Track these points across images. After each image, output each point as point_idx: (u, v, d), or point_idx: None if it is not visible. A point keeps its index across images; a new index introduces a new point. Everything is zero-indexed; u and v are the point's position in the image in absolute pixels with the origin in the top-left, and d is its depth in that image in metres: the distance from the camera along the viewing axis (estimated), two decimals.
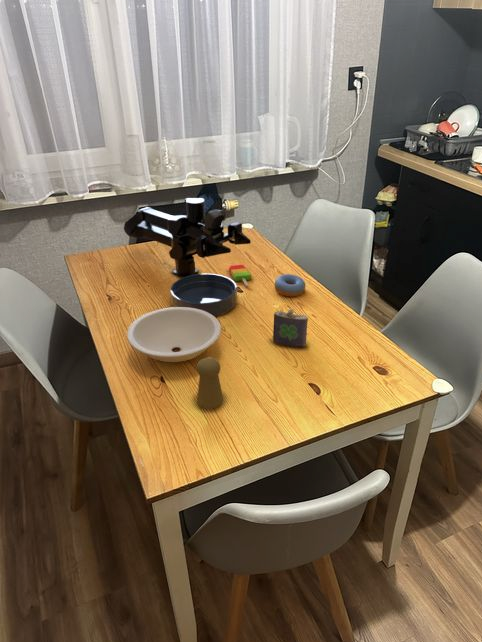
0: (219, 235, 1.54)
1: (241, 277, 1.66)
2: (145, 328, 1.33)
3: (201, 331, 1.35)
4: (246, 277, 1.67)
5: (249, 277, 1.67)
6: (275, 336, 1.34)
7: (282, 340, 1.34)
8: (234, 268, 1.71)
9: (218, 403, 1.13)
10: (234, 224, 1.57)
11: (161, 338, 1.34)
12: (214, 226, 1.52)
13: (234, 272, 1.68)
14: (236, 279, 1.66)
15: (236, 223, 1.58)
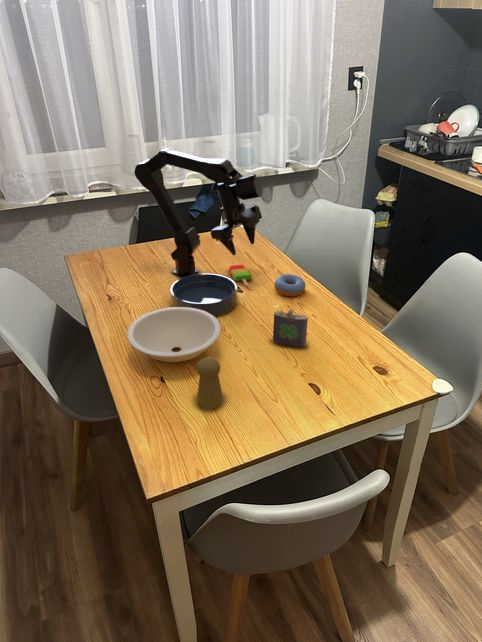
0: None
1: (241, 277, 1.66)
2: (145, 328, 1.33)
3: (201, 331, 1.35)
4: (246, 277, 1.67)
5: (249, 277, 1.67)
6: (275, 336, 1.34)
7: (282, 340, 1.34)
8: (234, 268, 1.71)
9: (218, 403, 1.13)
10: None
11: (161, 338, 1.34)
12: None
13: (234, 272, 1.68)
14: (236, 279, 1.66)
15: (259, 216, 1.60)
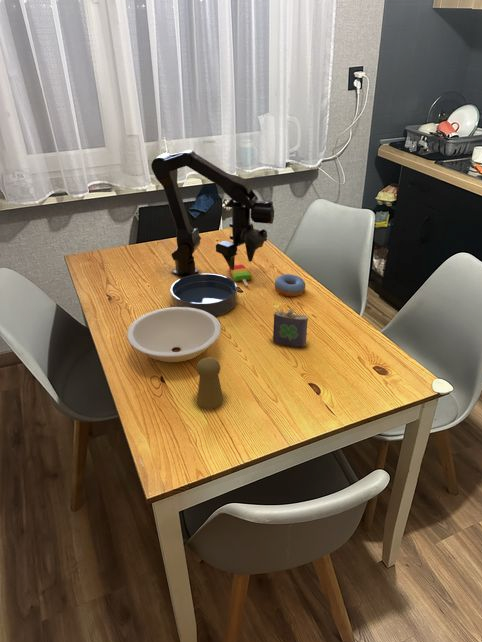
0: None
1: (241, 277, 1.66)
2: (145, 328, 1.33)
3: (201, 331, 1.35)
4: (246, 277, 1.67)
5: (249, 277, 1.67)
6: (275, 336, 1.34)
7: (282, 340, 1.34)
8: (234, 268, 1.71)
9: (218, 403, 1.13)
10: None
11: (161, 338, 1.34)
12: None
13: (234, 272, 1.68)
14: (236, 279, 1.66)
15: None
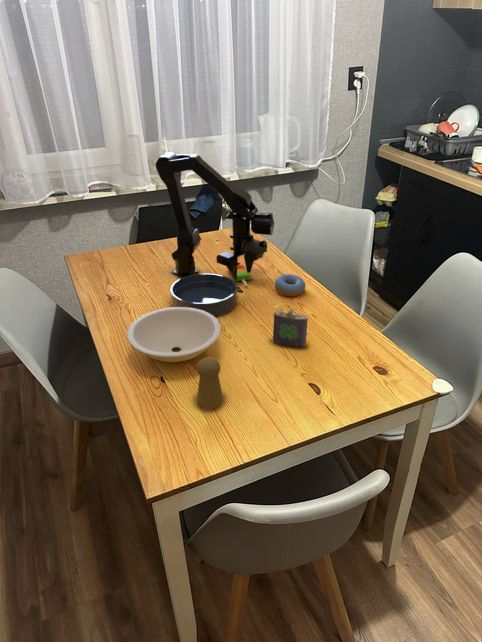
0: None
1: (240, 277, 1.66)
2: (145, 328, 1.33)
3: (201, 331, 1.35)
4: (245, 277, 1.67)
5: (248, 277, 1.67)
6: (275, 336, 1.34)
7: (282, 340, 1.34)
8: None
9: (218, 403, 1.13)
10: None
11: (161, 338, 1.34)
12: None
13: None
14: None
15: None
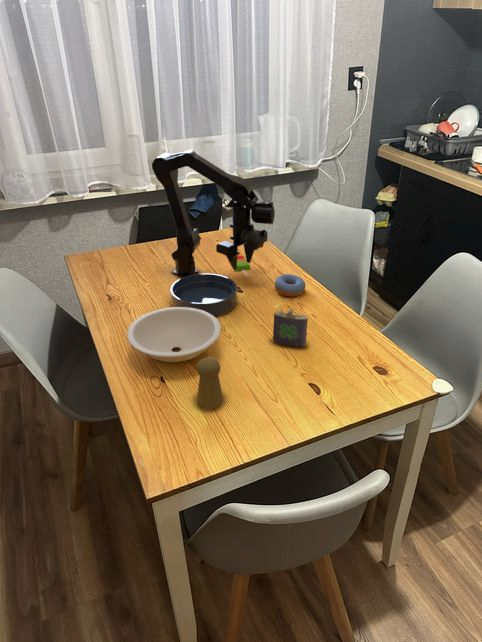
0: None
1: (240, 267, 1.64)
2: (145, 328, 1.33)
3: (201, 331, 1.35)
4: (245, 267, 1.65)
5: (248, 267, 1.65)
6: (275, 336, 1.34)
7: (282, 340, 1.34)
8: None
9: (218, 403, 1.13)
10: None
11: (161, 338, 1.34)
12: None
13: None
14: None
15: None
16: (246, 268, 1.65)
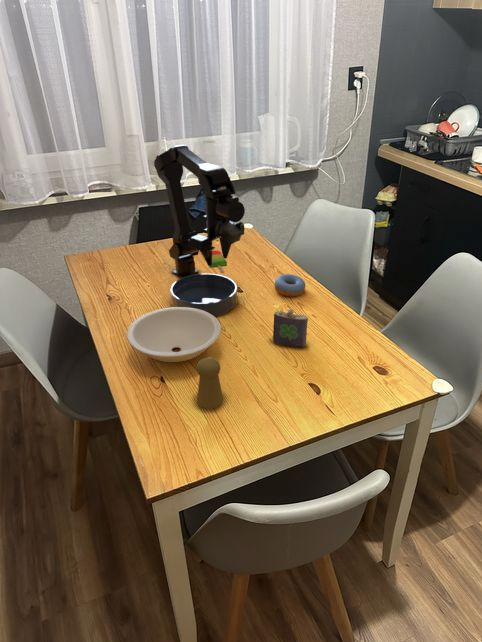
0: None
1: (216, 263, 1.52)
2: (145, 328, 1.33)
3: (201, 331, 1.35)
4: (222, 263, 1.52)
5: (225, 263, 1.52)
6: (275, 336, 1.34)
7: (282, 340, 1.34)
8: None
9: (218, 403, 1.13)
10: None
11: (161, 338, 1.34)
12: None
13: None
14: None
15: None
16: (222, 264, 1.52)
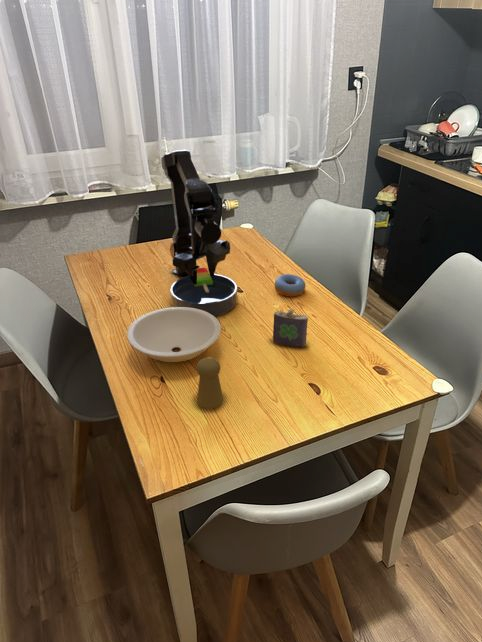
0: None
1: (201, 282, 1.48)
2: (145, 328, 1.33)
3: (201, 331, 1.35)
4: (207, 282, 1.49)
5: (211, 282, 1.49)
6: (275, 336, 1.34)
7: (282, 340, 1.34)
8: None
9: (218, 403, 1.13)
10: None
11: (161, 338, 1.34)
12: None
13: None
14: (196, 284, 1.48)
15: None
16: (208, 283, 1.49)
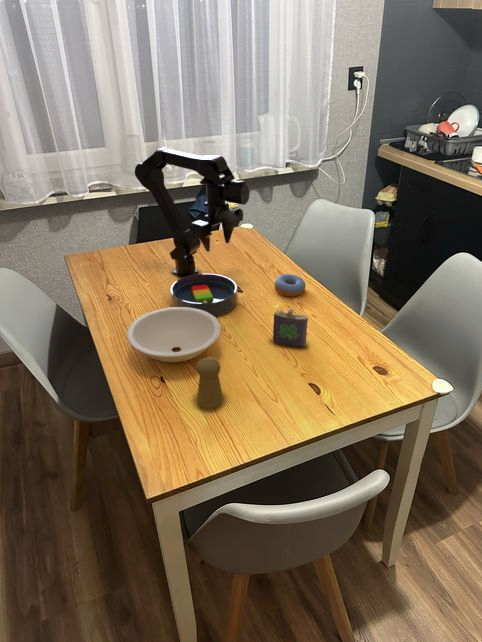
0: None
1: (202, 299, 1.52)
2: (145, 328, 1.33)
3: (201, 331, 1.35)
4: (208, 299, 1.52)
5: (211, 299, 1.52)
6: (275, 336, 1.34)
7: (282, 340, 1.34)
8: (196, 289, 1.56)
9: (218, 403, 1.13)
10: None
11: (161, 338, 1.34)
12: None
13: (195, 293, 1.54)
14: (197, 301, 1.51)
15: None
16: (209, 300, 1.52)
